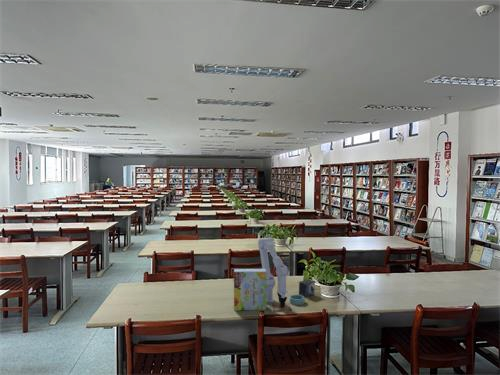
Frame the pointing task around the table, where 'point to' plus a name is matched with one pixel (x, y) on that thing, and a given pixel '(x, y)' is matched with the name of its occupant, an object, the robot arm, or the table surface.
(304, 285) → the small box
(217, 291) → the table surface
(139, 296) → the table surface
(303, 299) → the bowl
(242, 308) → the snack box
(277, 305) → the cover
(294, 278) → the table surface
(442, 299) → the table surface
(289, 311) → the mat
